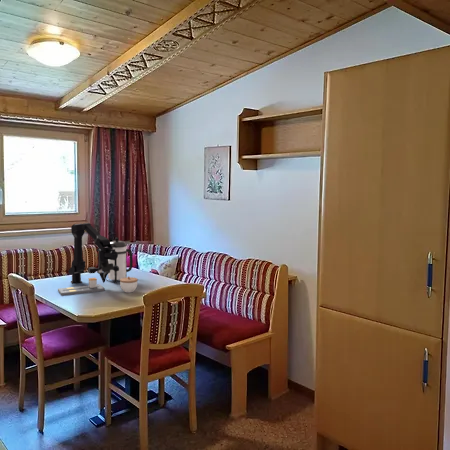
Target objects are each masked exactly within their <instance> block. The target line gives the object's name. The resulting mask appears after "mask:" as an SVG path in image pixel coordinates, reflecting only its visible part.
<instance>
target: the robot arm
mask: <svg viewBox="0 0 450 450" xmlns="http://www.w3.org/2000/svg"><path fill="white" fill-rule="evenodd" d="M70 229H71V230H70V231H71V235H72V236H73V240H74V241H73V242H74V243H73V247H74V248H73V249H74V252H73V253H74V255H73V260H72V262H71V267H70V268H69V269H68V270H67V271H68V272H67V273H68V275H71V280H70V283H71V284H73V285H74V284H81V283H83V281H82V274H84V272H85V269H86V261H85V260H84V259H83V236H84V235H85V232H86V233H87V234H88V235H89V236H90V237H91V238H92V239H93V241H94V244H95V246H96V247H97V249H96V252H98V267H97V268H96V267H94V266H91V267H88V268H87V272H88V274H95V273H97V274H99V276H100V278H101V282H102V283H106V281H107V280H106V279H107V278H108V273H110V270H114V271H119V267H118V266H117V265H113V263H111V264H109V262H108V259H109V260H116V259H117V257H118V254H117V252H116V251H115V249H113V248H112V246H111V244H110V242H111V241H110V239H109V238H107V237H106V236H103V235H101V234H100V232H98V231H97V229H95V228H94V227H93V225H92V224H91V223H89V222H86V223H74V224H72V225H71V228H70Z"/></svg>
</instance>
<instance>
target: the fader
mask: <svg viewBox="0 0 450 450" xmlns="http://www.w3.org/2000/svg"><path fill="white" fill-rule="evenodd" d="M97 280H98V279H97V277H88V285H89V287H90V288H94V287H97V285H98V284H97V283H98V281H97Z"/></svg>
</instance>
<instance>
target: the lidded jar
mask: <svg viewBox="0 0 450 450" xmlns="http://www.w3.org/2000/svg"><path fill="white" fill-rule="evenodd" d="M138 280H139V279H138V278H137V277H131V276H127V278H122V279H120V280H119V284H120V288H121V290H122V291H123V292H124V293H133V292H134V291H135V290H137V287H138Z"/></svg>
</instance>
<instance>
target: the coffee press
mask: <svg viewBox="0 0 450 450" xmlns="http://www.w3.org/2000/svg"><path fill="white" fill-rule="evenodd" d="M109 242H110V244H111V246H112V248H113V249H115V251H116V252H117V254H118V257H117V259H116V260H109V259H108V262H109V264H111V263H113V265H117V266H118V267H119V271H114V270H110V273H108V275H107V278H106V280H105V281H107V282H108V281H109V280H111V281H114V284H117V283H118V281H120V279H122V278H127V277H128V276H127V273H129V272H130V271H132V269H133V266H134V265H133V262H134V261H133V257H134V256H133V251H132V250H131V249H128V248H127V245H128V244H126V242H125V241H124V240H119V237H115V239H114V240H112V241H109ZM127 252H128V254H129V267H128V268H127V265H128V264H127Z"/></svg>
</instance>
